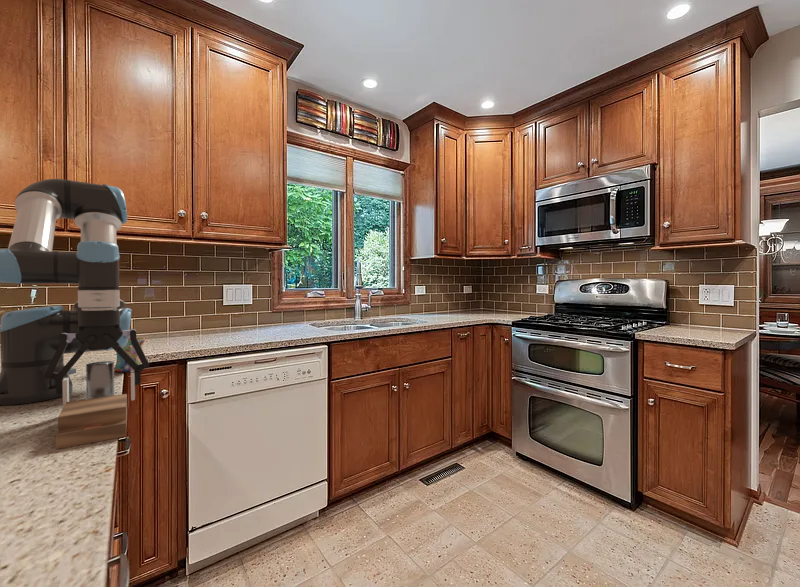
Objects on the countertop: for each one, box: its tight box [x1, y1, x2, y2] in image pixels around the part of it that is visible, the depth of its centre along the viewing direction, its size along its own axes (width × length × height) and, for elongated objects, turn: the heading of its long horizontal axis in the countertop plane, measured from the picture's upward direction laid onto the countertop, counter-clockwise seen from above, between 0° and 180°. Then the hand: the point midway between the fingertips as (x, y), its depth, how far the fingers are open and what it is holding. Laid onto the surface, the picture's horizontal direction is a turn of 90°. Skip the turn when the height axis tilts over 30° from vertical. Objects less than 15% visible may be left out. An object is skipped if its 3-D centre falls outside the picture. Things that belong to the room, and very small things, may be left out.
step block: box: [55, 393, 128, 450], centre depth 75 cm, size 14×10×5 cm
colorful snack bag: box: [114, 337, 146, 373], centre depth 127 cm, size 12×9×11 cm
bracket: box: [68, 367, 77, 376], centre depth 119 cm, size 4×10×2 cm, turn 178°
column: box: [85, 360, 115, 399], centre depth 87 cm, size 5×5×11 cm
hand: (100, 403), depth 87 cm, fingers open, 11 cm apart
